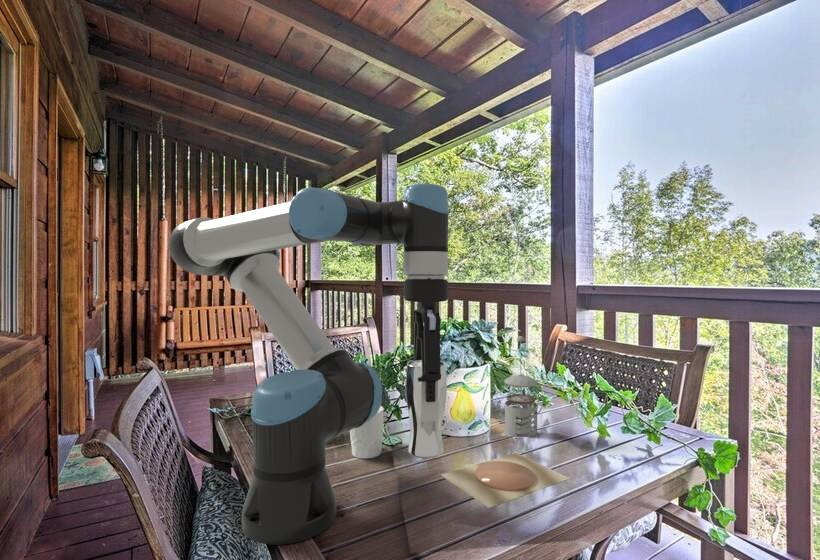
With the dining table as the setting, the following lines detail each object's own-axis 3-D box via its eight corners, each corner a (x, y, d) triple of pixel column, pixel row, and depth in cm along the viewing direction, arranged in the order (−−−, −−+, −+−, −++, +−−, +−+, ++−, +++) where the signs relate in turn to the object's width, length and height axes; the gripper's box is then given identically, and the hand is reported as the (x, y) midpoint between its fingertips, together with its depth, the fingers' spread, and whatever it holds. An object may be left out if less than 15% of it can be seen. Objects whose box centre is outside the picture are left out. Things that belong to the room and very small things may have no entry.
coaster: (484, 492, 77) (484, 489, 77) (469, 465, 88) (469, 462, 88) (544, 488, 78) (544, 485, 78) (521, 462, 89) (521, 459, 89)
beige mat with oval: (488, 516, 72) (488, 507, 72) (440, 482, 84) (440, 474, 84) (570, 486, 82) (569, 478, 82) (516, 459, 94) (516, 452, 94)
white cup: (342, 456, 97) (341, 411, 97) (361, 443, 104) (361, 402, 104) (371, 462, 93) (371, 416, 93) (390, 449, 100) (389, 406, 100)
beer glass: (411, 462, 70) (411, 369, 69) (400, 445, 76) (401, 360, 76) (452, 457, 72) (452, 366, 71) (438, 441, 78) (438, 358, 78)
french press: (492, 433, 110) (492, 335, 109) (527, 426, 115) (527, 332, 115) (519, 447, 101) (518, 340, 101) (555, 438, 106) (555, 336, 106)
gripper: (461, 278, 64) (460, 433, 64) (437, 277, 84) (437, 396, 84) (410, 278, 63) (410, 435, 64) (398, 277, 83) (398, 397, 83)
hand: (425, 412), depth 74 cm, fingers closed on beer glass, 7 cm apart
